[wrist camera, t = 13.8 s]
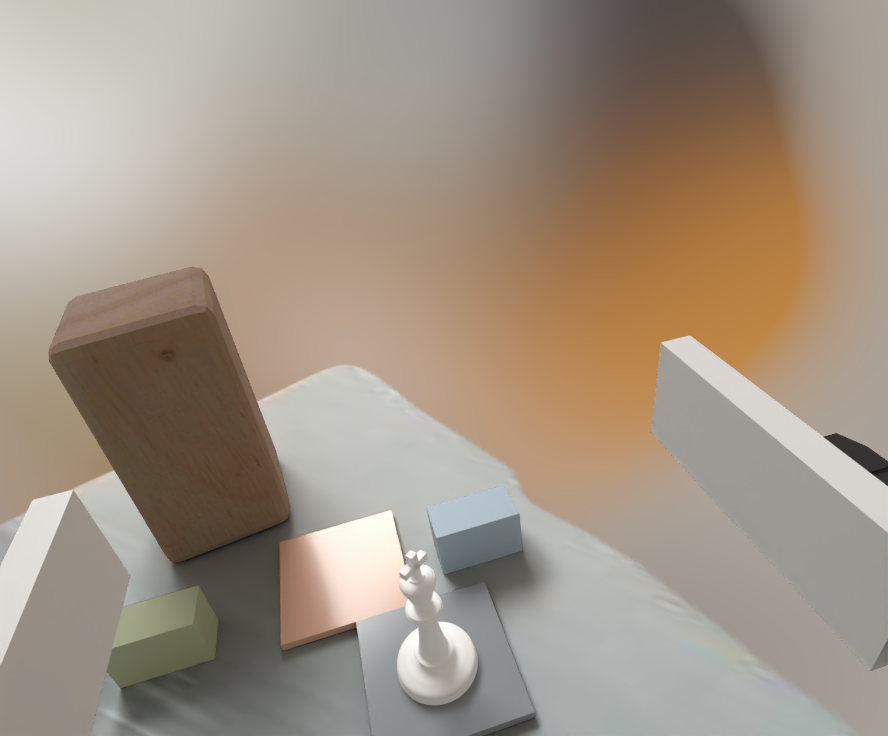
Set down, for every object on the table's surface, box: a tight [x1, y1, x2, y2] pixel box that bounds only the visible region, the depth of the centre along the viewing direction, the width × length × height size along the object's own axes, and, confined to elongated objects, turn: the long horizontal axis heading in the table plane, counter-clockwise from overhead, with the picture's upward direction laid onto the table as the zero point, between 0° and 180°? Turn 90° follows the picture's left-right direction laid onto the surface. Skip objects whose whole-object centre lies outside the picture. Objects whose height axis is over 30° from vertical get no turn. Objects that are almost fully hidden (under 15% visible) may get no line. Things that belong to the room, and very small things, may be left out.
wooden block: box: [49, 267, 290, 562], centre depth 44 cm, size 10×10×20 cm
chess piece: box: [397, 550, 478, 706], centre depth 32 cm, size 5×5×10 cm
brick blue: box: [426, 485, 523, 575], centre depth 41 cm, size 6×3×4 cm, turn 105°
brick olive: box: [107, 585, 219, 688], centre depth 37 cm, size 6×3×4 cm, turn 105°
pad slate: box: [356, 581, 535, 736], centre depth 35 cm, size 9×9×1 cm
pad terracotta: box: [280, 510, 408, 651], centre depth 42 cm, size 9×9×1 cm
